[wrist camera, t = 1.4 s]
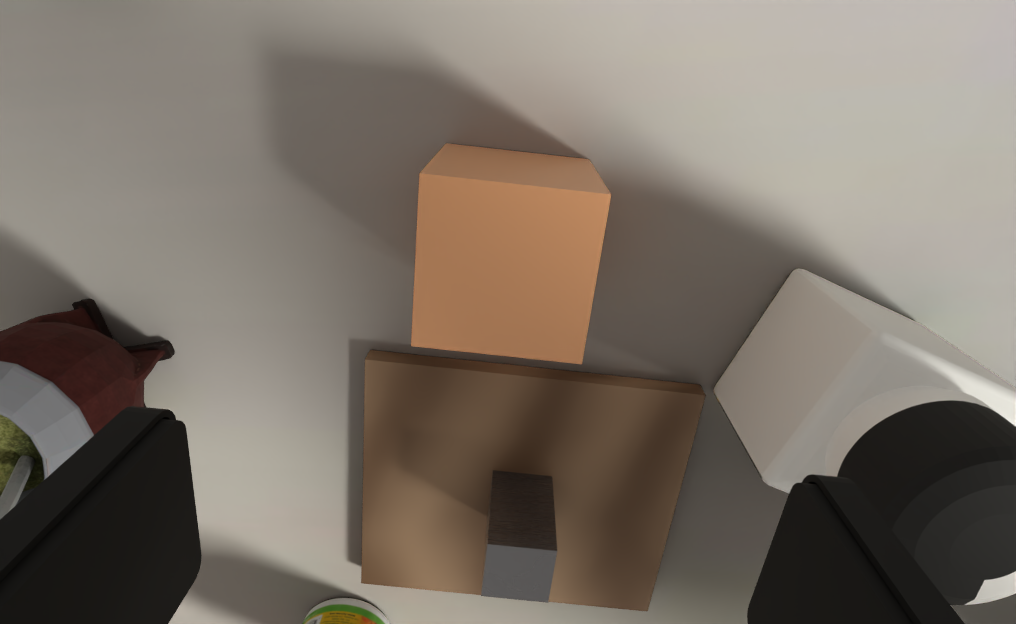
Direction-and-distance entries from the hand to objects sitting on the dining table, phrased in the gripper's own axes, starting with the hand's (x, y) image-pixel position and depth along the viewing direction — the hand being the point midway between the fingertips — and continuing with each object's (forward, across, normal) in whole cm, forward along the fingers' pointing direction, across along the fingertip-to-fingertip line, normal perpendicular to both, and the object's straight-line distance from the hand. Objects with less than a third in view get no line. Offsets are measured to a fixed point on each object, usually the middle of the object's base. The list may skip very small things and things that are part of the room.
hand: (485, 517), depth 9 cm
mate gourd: (+19, +18, +9) cm, 28 cm away
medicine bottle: (+19, -15, +5) cm, 24 cm away
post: (+18, -2, +14) cm, 23 cm away
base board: (+18, -2, +14) cm, 23 cm away
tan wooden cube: (+18, 0, 0) cm, 19 cm away
